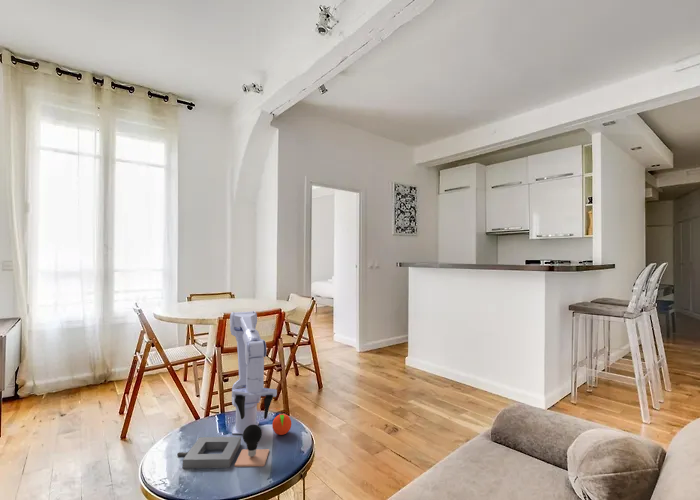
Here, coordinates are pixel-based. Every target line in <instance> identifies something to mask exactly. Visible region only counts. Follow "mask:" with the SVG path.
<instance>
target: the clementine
mask: <svg viewBox="0 0 700 500" xmlns="http://www.w3.org/2000/svg"><path fill="white" fill-rule="evenodd" d="M271 427H272V430H273V432H274V433H275V434H276V435H279V436H283V435H285V434H288V433H289V432H290V430H291V427H292V420H291V418H290V416H289V415H287V414H286V413H279V414H278V415H276V416H275V417H274V419H273V420H272V425H271Z"/></svg>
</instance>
